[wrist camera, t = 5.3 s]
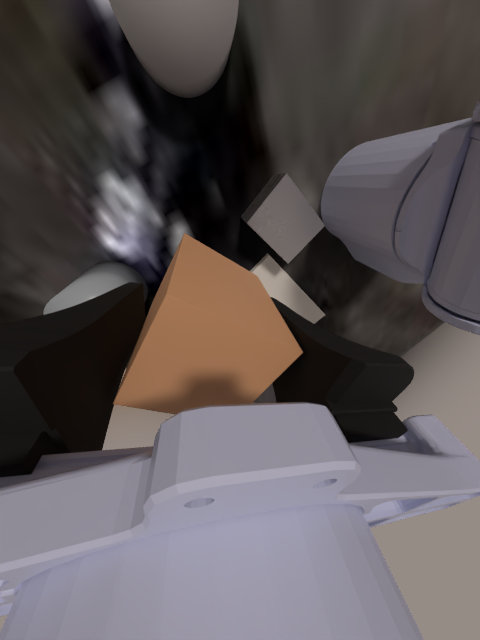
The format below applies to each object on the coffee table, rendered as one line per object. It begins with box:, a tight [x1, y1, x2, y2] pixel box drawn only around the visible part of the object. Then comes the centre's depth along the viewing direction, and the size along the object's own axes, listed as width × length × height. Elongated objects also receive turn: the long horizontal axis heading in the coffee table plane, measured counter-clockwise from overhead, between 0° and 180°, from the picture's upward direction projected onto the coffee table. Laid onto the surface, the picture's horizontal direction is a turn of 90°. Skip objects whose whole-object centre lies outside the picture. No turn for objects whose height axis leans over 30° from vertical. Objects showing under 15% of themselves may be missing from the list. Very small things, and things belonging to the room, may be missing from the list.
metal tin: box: [241, 173, 325, 263], centre depth 16 cm, size 5×4×3 cm
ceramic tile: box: [250, 253, 325, 324], centre depth 23 cm, size 11×11×1 cm
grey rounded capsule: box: [44, 261, 148, 315], centre depth 16 cm, size 5×5×6 cm
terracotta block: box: [113, 233, 303, 414], centre depth 10 cm, size 5×5×7 cm
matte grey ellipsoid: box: [109, 0, 239, 98], centre depth 10 cm, size 6×6×2 cm
